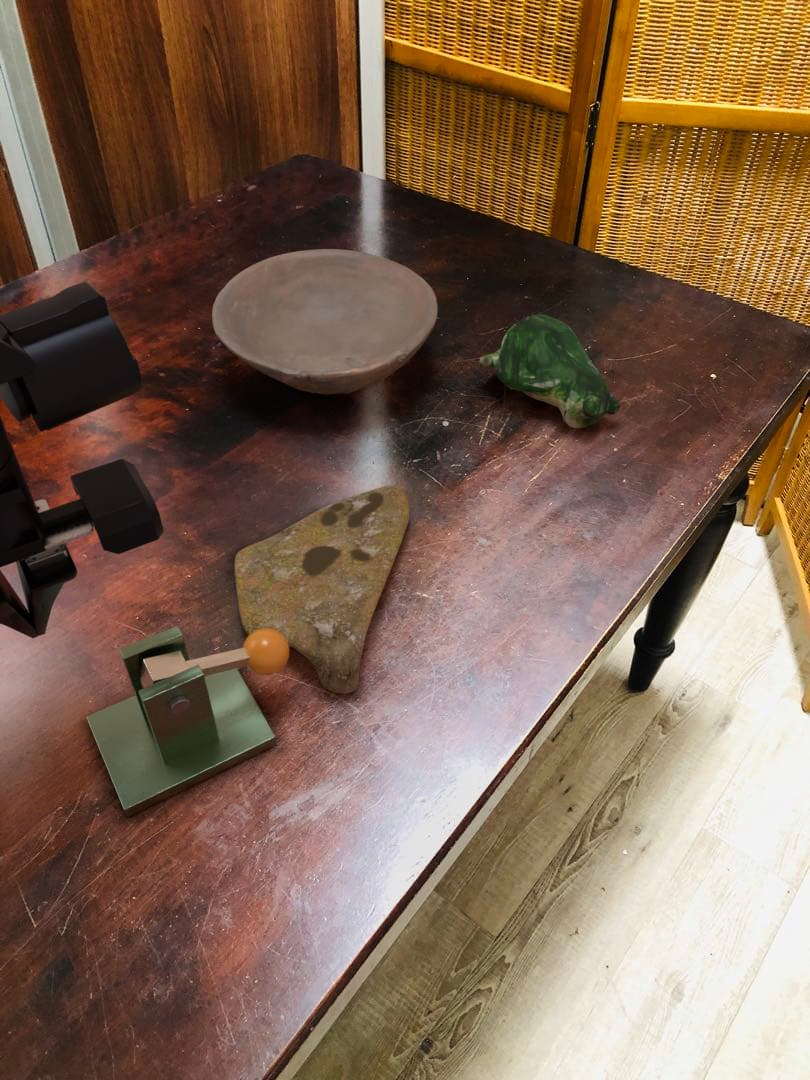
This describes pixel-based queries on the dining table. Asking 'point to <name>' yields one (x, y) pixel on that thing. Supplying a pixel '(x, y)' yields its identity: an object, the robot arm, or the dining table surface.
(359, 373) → the bowl
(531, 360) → the figurine
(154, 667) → the switch lever
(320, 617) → the decorative stone
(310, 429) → the dining table surface
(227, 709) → the switch bracket
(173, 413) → the dining table surface
